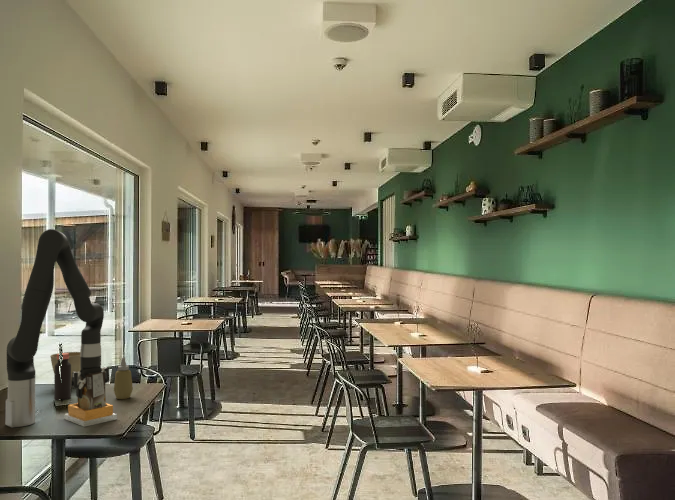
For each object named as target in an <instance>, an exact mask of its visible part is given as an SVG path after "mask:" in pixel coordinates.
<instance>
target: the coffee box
mask: <svg viewBox="0 0 675 500" xmlns="http://www.w3.org/2000/svg"><path fill="white" fill-rule="evenodd" d="M85 377H86V383H85V384H84V385H83V387H82V388H81V389H82V398H81V399H79V398H78V397H77V403H78V407H79V408H82V409H85V410H89V409H94V408H99V407H104V406H106V403H107V401H106V384H105V372H98V373H91V374H86V375H85ZM80 379H81V380H82V381H83V380H84V378H83V377H81V376H80V375H79V377H78V381H77V384H78V382H79V380H80Z"/></svg>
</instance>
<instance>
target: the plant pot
mask: <svg viewBox="0 0 675 500" xmlns="http://www.w3.org/2000/svg"><path fill="white" fill-rule="evenodd" d="M59 353H60V352H57V353H53V354H51V355H50V362H51V363H50V364H51V366H52V371H53V372H54V367H55V365H56V363H57V362H58V360H57V354H59ZM63 353H69V360H68V362H69V363H70V364H71V380H72V372H80V370H81V367H80V351H68V352H63ZM72 388H73V387H71V389H72Z"/></svg>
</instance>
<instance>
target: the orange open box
mask: <svg viewBox="0 0 675 500" xmlns="http://www.w3.org/2000/svg"><path fill="white" fill-rule="evenodd" d="M67 411H68V412H67V413H64V418H63V419H64V420H66V421H69V422H70V423H73V424H76V425H79V426H81V427H83V428H85V427H89V426H93V425H98V424H102V423H106V422H111V421H115V420H118V419H117V418H118V416H117V413H114V405H113V404H110V403H107V402H106V406H104V407H99V408H94V409H89V410H85V409H82V408H79V407H78V402H77V403H76V402H75V403H72V404H71V403H70V404H68V406H67Z"/></svg>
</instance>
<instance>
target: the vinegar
mask: <svg viewBox="0 0 675 500" xmlns="http://www.w3.org/2000/svg"><path fill="white" fill-rule="evenodd" d="M61 353H62V355H63V361H62V366H61V379H62V383H61V380H60V374H59V366H60V361H59V354H57V353H56V354H57V360H58V362H57V363H56V365H55V367H54V371H53V375H54V377H53V379H54V382H53V383H54V384H53V386H54V387H53V388H54V389H53V390H54V396H53V397H54V400H55V399H56V401H60V400H59V399H63V400H62V401H64V400H69V399H71V398H72V388H71V364H70V363H69V362H68V360H69V353H64V352H61Z"/></svg>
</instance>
